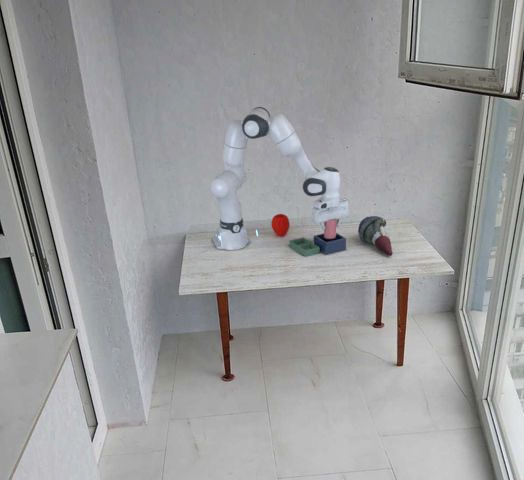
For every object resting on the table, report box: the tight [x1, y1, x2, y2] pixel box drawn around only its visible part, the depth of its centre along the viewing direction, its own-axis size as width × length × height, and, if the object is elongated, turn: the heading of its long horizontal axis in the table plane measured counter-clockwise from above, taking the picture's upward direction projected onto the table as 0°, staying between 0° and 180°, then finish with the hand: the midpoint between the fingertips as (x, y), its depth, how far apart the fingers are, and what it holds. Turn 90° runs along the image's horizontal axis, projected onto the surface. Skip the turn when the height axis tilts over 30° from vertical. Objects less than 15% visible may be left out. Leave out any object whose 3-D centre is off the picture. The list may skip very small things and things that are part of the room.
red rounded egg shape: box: [270, 213, 290, 238], centre depth 305 cm, size 10×10×12 cm
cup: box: [323, 219, 337, 239], centre depth 284 cm, size 6×6×10 cm
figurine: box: [357, 215, 394, 257], centre depth 288 cm, size 29×17×15 cm
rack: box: [289, 237, 321, 257], centre depth 290 cm, size 16×8×3 cm, turn 26°
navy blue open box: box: [313, 232, 347, 256], centre depth 288 cm, size 12×12×6 cm
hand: (330, 228), depth 284 cm, fingers closed on cup, 6 cm apart
